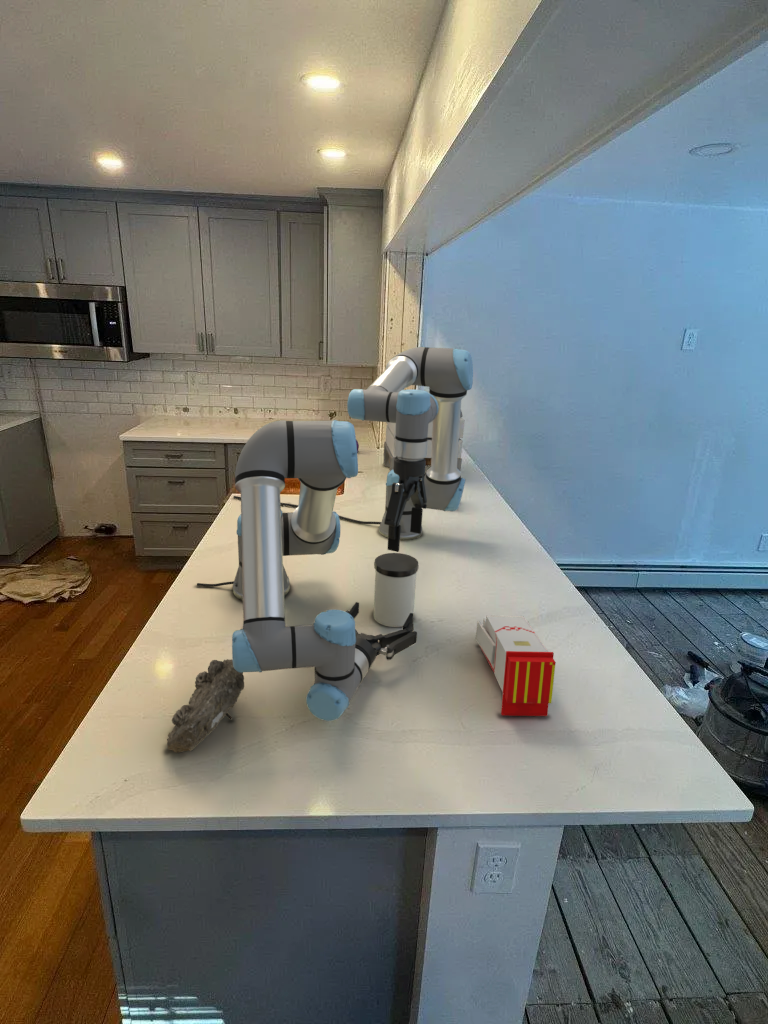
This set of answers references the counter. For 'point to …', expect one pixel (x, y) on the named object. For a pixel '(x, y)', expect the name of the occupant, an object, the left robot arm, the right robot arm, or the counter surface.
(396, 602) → the jar
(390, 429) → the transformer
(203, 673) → the fossil
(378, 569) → the lid
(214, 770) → the counter surface
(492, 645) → the toy
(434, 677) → the counter surface
